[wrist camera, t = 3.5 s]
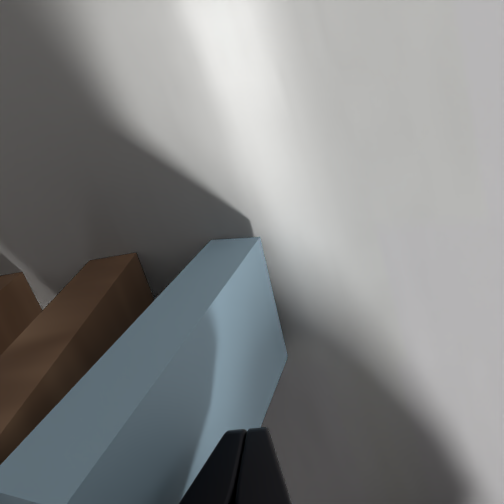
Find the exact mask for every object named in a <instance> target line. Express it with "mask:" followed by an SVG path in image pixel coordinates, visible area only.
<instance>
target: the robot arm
mask: <svg viewBox="0 0 504 504" xmlns="http://www.w3.org/2000/svg"><path fill="white" fill-rule="evenodd" d="M179 504H292V503H291V500H290V497H289V494H288V490H287V487H286V484H285V481H284V478H283V475H282V471H281V468H280V465H279V462H278V459H277V455H276V452H275V449H274V446H273V443H272V440H271V436H270V433H269V430H268V429H267V428H266V427H260V428H250V429H248V431H247V430H245V429H236V430H228V431H226V432H225V433H224V435H223V436H222V438H221V439H220V441H219V442H218V444H217V445H216V447H215V448H214V450H213V452H212V453H211V455H210V456H209V458H208V459H207V461H206V462H205V464H204V465H203V467H202V469H201V470H200V472H199V473H198V475H197V476H196V478H195V479H194V481H193V482H192V484H191V486H190V487H189V489H188V490H187V492H186V493H185V495H184V496H183V498H182V499H181V501H180V502H179Z"/></svg>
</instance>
